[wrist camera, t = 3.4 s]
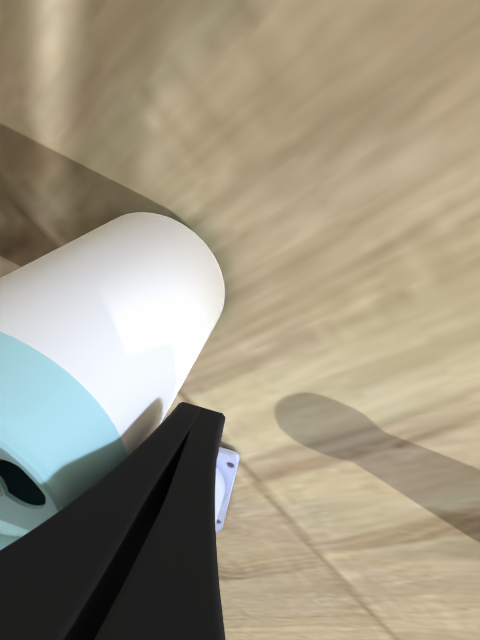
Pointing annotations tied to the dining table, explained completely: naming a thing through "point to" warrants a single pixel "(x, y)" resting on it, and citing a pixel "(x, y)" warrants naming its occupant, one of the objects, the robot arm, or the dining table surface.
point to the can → (95, 356)
